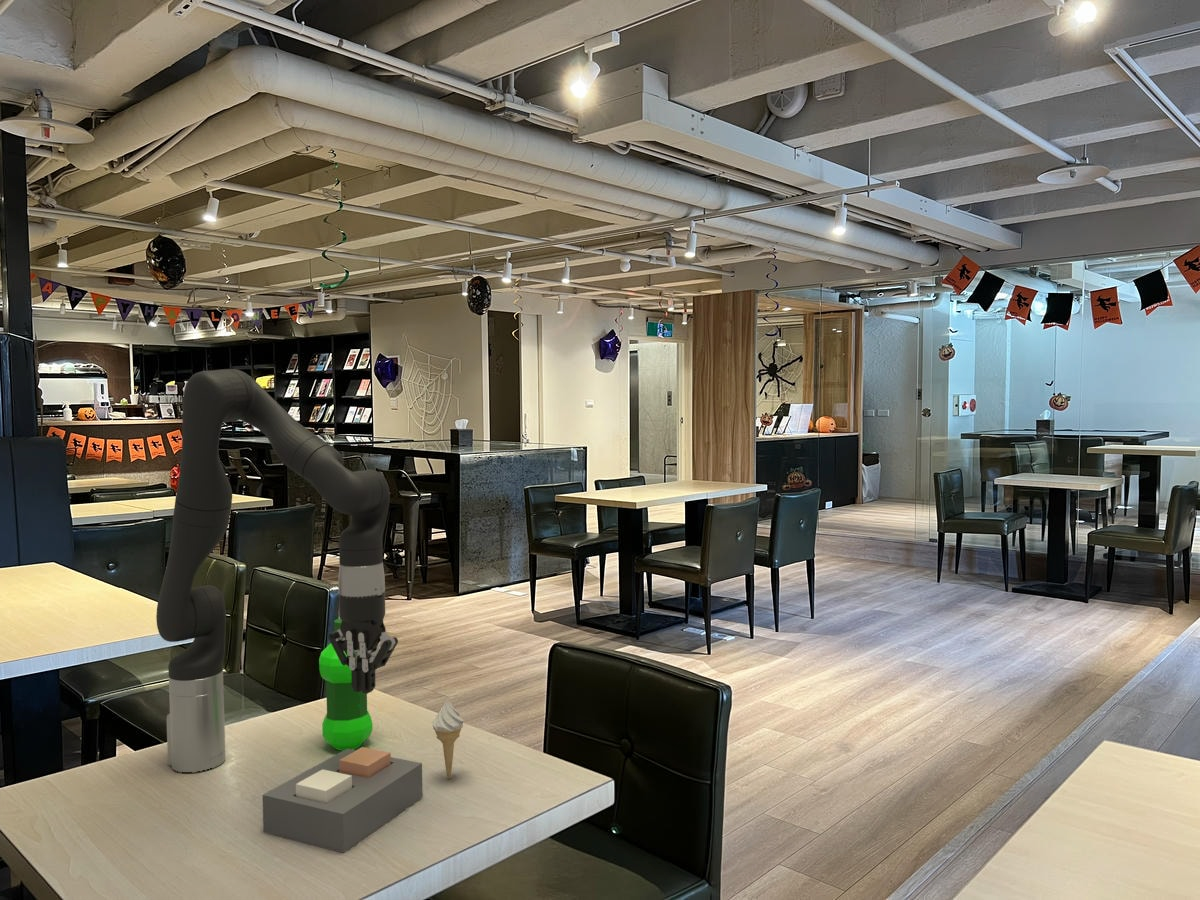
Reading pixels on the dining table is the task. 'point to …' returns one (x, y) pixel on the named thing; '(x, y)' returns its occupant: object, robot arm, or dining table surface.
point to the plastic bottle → (343, 703)
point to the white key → (324, 786)
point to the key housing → (342, 805)
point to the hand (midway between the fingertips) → (363, 691)
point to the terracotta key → (365, 762)
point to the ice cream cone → (448, 731)
